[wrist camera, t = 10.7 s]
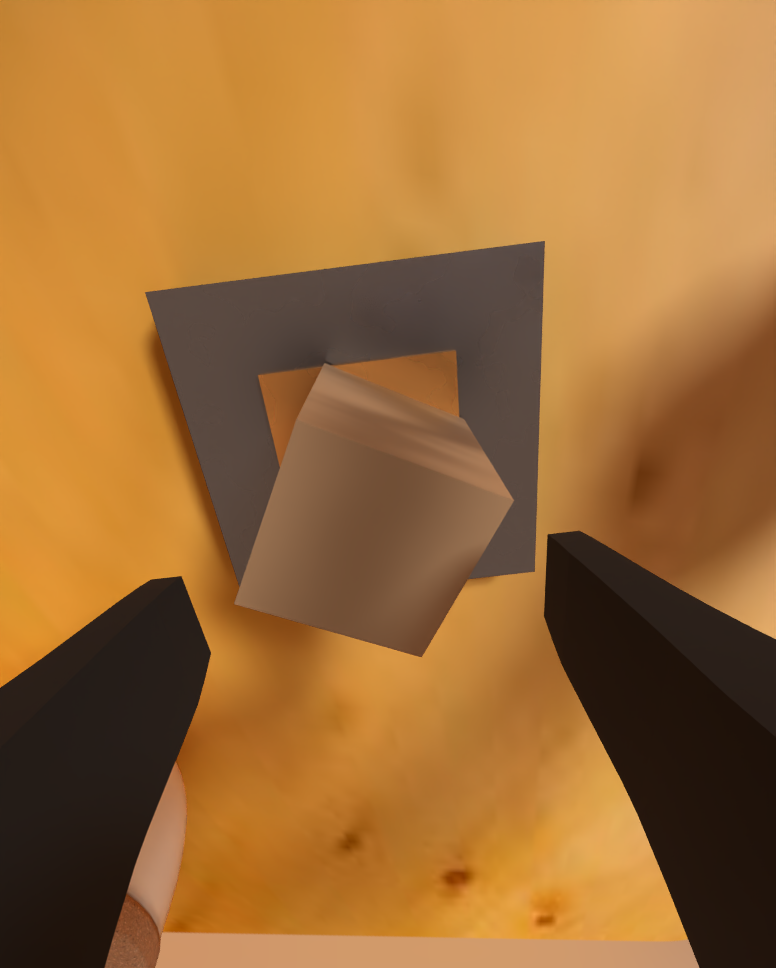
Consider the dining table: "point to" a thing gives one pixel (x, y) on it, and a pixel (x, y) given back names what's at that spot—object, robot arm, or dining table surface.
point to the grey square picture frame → (362, 370)
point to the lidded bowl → (152, 882)
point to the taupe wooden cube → (373, 516)
